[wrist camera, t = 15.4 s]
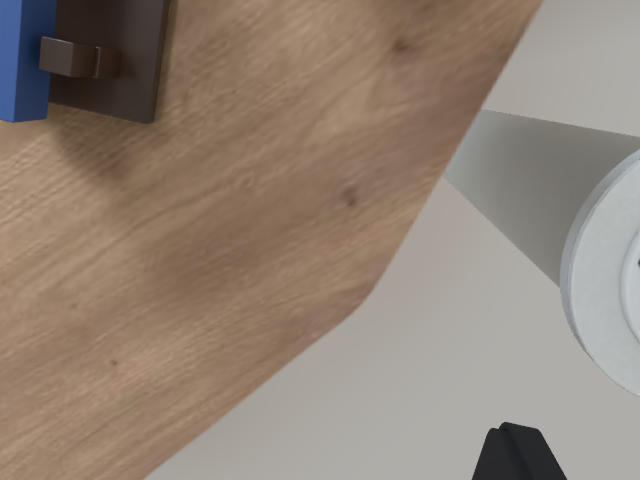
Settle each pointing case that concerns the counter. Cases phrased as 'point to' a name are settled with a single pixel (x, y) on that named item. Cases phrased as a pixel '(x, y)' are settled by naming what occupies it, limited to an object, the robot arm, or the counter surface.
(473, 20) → the counter surface
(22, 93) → the blue bar
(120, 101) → the holder
